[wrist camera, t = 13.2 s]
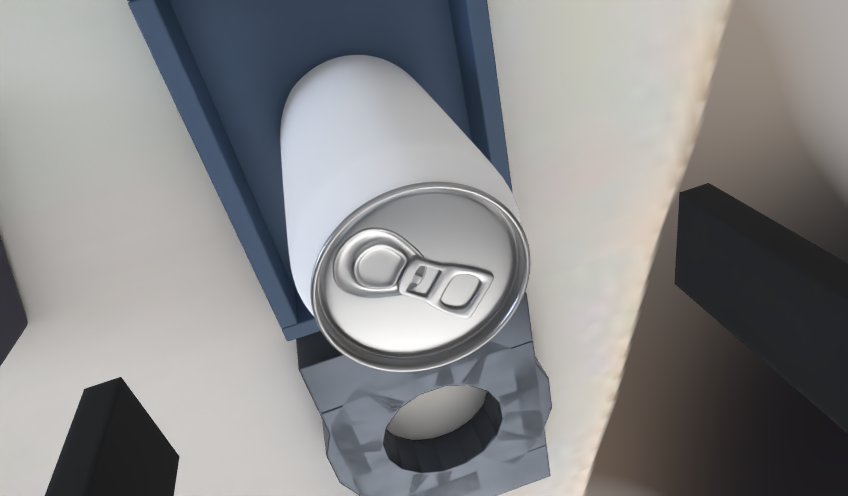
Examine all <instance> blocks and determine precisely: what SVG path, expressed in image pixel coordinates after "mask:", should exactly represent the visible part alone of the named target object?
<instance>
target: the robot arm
mask: <svg viewBox="0 0 848 496" xmlns="http://www.w3.org/2000/svg"><path fill="white" fill-rule="evenodd" d="M675 284H676V285H677V286H678V287H679V288H680V289H681V290H683V291H684V292H685V293H686V294H687V295H689V297H691V298H692V299H693V300H694V301H695V302H696V303H698V304H699V305H700V306H701V307H702V308H703V309H704V310H706V311H707V312H708V313H709V314H710V315H711V316H712V317H714V318H715V319H716V320H717V321H718V322H719V323H721V324H722V325H723V326H724V327H725V328H726V329H727V330H729V331H730V332H731V333H732V334H733V335H734V336H735V337H737V338H738V339H739V340H740V341H741V342H742V343H744V344H745V345H746V346H747V347H748V348H749V349H751V350H752V351H753V352H754V353H755V354H756V355H757V356H759V357H760V358H761V359H762V360H763V361H764V362H765V363H767V364H768V365H769V366H770V367H771V368H772V369H773V370H775V371H776V372H777V373H778V374H779V375H780V376H782V377H783V378H784V379H785V380H786V381H787V382H788V383H790V384H791V385H792V386H793V387H794V388H795V389H797V390H798V391H799V392H800V393H801V394H802V395H803V396H805V397H806V398H807V399H808V400H809V401H810V402H811V403H813V404H814V405H815V406H816V407H817V408H818V409H820V410H821V411H822V412H823V413H824V414H825V415H826V416H828V417H829V418H830V419H831V420H832V421H834V422H835V423H836V424H837V425H838V426H839V427H840V428H842V429H843V430H844V431H845V432H846V433H847V434H848V264H847V263H846V262H844V261H842V260H841V259H839V258H837V257H835V256H834V255H832V254H830V253H829V252H827V251H825V250H823V249H822V248H820V247H818V246H816V245H815V244H813V243H811V242H810V241H808V240H806V239H804V238H803V237H801V236H799V235H797V234H795V233H794V232H792V231H791V230H789V229H787V228H785V227H784V226H782V225H780V224H778V223H777V222H775V221H773V220H771V219H769V218H768V217H766V216H765V215H763V214H761V213H759V212H758V211H756V210H754V209H753V208H751V207H749V206H747V205H746V204H744V203H742V202H741V201H739V200H737V199H735V198H734V197H732V196H730V195H728V194H727V193H725V192H723V191H721V190H720V189H718V188H716V187H715V186H713V185H711V184H709V183H707V184H704V185H701V186H698V187H695V188H692V189H689V190H686V191H683V192H680V196H679V214H678V232H677V250H676V268H675ZM178 462H179V455H178V454H177V453H176V451H175V450H174V448H173V447H172V446H171V444H170V443H169V442H168V440H167V439H166V438H165V436H164V435H163V433H162V432H161V431H160V429H159V428H158V427H157V425H156V424H155V423H154V421H153V420H152V418H151V417H150V416H149V414H148V413H147V412H146V410H145V409H144V408H143V406H142V405H141V403H140V402H139V401H138V399H137V398H136V397H135V395H134V394H133V392H132V391H131V390H130V388H129V387H128V386H127V384H126V383H125V382H124V380H123V379H122V377H119V378H116V379H113V380H110V381H107V382H104V383H101V384H98V385H95V386H92V387H89V388H86V389H84V392H83V394H82V397H81V400H80V402H79V405H78V408H77V410H76V413H75V416H74V419H73V421H72V424H71V427H70V429H69V432H68V435H67V437H66V440H65V443H64V445H63V448H62V451H61V454H60V456H59V459H58V462H57V464H56V467H55V470H54V472H53V475H52V478H51V481H50V483H49V486H48V489H47V491H46V494H45V496H174V489H175V483H176V476H177V469H178Z"/></svg>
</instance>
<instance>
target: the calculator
mask: <svg viewBox="0 0 848 496" xmlns="http://www.w3.org/2000/svg"><path fill="white" fill-rule="evenodd" d="M27 323H28V322H27V318H26V314H25V311H24V308H23V305H22V302H21V299H20V296H19V293H18V290H17V287H16V283H15V280H14V277H13V274H12V271H11V268H10V265H9V262H8V259H7V256H6V252H5V249H4V246H3V243H2V240H1V237H0V366H1V364H2V363H3V361H4V360H5V358H6V357H7V355H8V354H9V352H10V351H11V349H12V348H13V346H14V345H15V343H16V342H17V340H18V339H19V337H20V336H21V334H22V333H23V331H24V329H25V328H26V326H27Z"/></svg>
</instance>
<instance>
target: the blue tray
mask: <svg viewBox="0 0 848 496" xmlns="http://www.w3.org/2000/svg"><path fill="white" fill-rule="evenodd" d="M127 1H129V2H128V5H129V7H130V9H131V11H132V13H133V15H134V17H135V20H136V22H137V24H138V26H139V28H140V30H141V32H142V34H143V37H144V39H145V41H146V43H147V45H148V47H149V49H150V51H151V53H152V56H153V58H154V60H155V62H156V64H157V66H158V68H159V70H160V73H161V75H162V77H163V79H164V81H165V83H166V85H167V87H168V89H169V92H170V94H171V96H172V98H173V100H174V102H175V104H176V106H177V109H178V111H179V113H180V115H181V117H182V119H183V121H184V123H185V125H186V128H187V130H188V132H189V134H190V136H191V138H192V140H193V142H194V145H195V147H196V149H197V151H198V153H199V155H200V157H201V159H202V161H203V164H204V166H205V168H206V170H207V172H208V174H209V176H210V178H211V181H212V183H213V185H214V187H215V189H216V191H217V193H218V195H219V197H220V200H221V202H222V204H223V206H224V208H225V210H226V212H227V214H228V217H229V219H230V221H231V223H232V225H233V227H234V229H235V231H236V233H237V236H238V238H239V240H240V242H241V244H242V246H243V248H244V250H245V253H246V255H247V257H248V259H249V261H250V263H251V265H252V267H253V269H254V272H255V274H256V276H257V278H258V280H259V282H260V284H261V286H262V289H263V291H264V293H265V295H266V297H267V299H268V301H269V303H270V306H271V308H272V310H273V312H274V314H275V316H276V318H277V320H278V322H279V325H280V327H281V328H282V331H283V333H284V335H285V338H286V340H287V341H291V340H294V339H297V338H300V337H303V336H306V335H309V334H312V333H315V332H318V331H321V330H320V329H319V327H318V325H317V323H316V320H315V317H314V316H313V315H312V314H311V312H310V311H309V310H308V308H307V307H306V306H305V304H304V303H303V301H302V299H301V297H300V295H299V293H298V291H297V288H296V285H295V282H294V279H293V275H292V271H291V265H290V258H289V250H288V239H287V228H286V216H285V203H284V190H283V176H282V161H281V145H280V127H281V119H282V114H283V109H284V106H285V103H286V100H287V98H288V96H289V94H290V92H291V90H292V88H293V87H294V86H295V84H296V83H297V82H298V81H299V80H300V79H301V78H302V77H303V76H304V75H305V74H307V73H308V72H309V71H310V70H312V69H313V68H315V67H316V66H318V65H320V64H322V63H324V62H326V61H328V60H331V59H334V58H337V57H341V56H347V55H368V56H373V57H378V58H381V59H384V60H386V61H389V62H391V63H393V64H395V65H396V66H398V67H400V68H401V69H403V70H404V71H405V72H407V73H408V74H409V75H410V76H411V77H412V78H413V79H414V80H415V81H416V82H417V83H418V84H419V85H420V86H421V87H422V88H423V89H424V90H425V91H426V92H427V93H428V94H429V96H430V97H431V98H432V99H433V100H434V101H435V102H436V103H437V104H438V105H439V106H440V107H441V109H442V110H443V111H444V112H445V113H446V114H447V115H448V116H449V117H450V118H451V119H452V120H453V122H454V123H455V124H456V125H457V126H458V127H459V128H460V129H461V130H462V131H463V133H464V134H465V135H466V136H467V137H468V138H469V139H470V140H471V141H472V142H473V144H474V145H475V146H476V147H477V148H478V149H479V150H480V151H481V152H482V154H483V155H484V156H485V157H486V158H487V159H488V160H489V161H490V163H491V164H492V165H493V166H494V167H495V169H496V170H497V171H498V172H499V174H500V175H501V176H502V177H503V179H504V180H505V182H506V183H507V185H508V187H509V188H510V190H511V192H512V186H511V178H510V171H509V163H508V156H507V148H506V141H505V133H504V125H503V118H502V110H501V103H500V95H499V87H498V80H497V72H496V65H495V57H494V50H493V42H492V34H491V27H490V19H489V12H488V4H487V0H127Z"/></svg>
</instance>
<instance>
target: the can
mask: <svg viewBox="0 0 848 496" xmlns="http://www.w3.org/2000/svg"><path fill="white" fill-rule="evenodd" d="M280 145H281V161H282V176H283V190H284V203H285V216H286V228H287V239H288V250H289V258H290V265H291V271H292V275H293V279H294V282H295V285H296V288H297V291H298V293H299V295H300V297H301V299H302V301H303V303H304V304H305V306H306V307H307V308H308V310H309V311H310V312H311V314H312V315H313V316H314V317H315V320H316V323H317V325H318V327H319V329H320V330H321V332H322V334H323V335H324V336H325V338H326V339H327V340H328V342H329V343H330V344H331V345H332V346H333V347H334V348H335V349H337V350H338V351H339V352H340V353H342V354H343V355H344V356H346V357H348V358H349V359H351V360H353V361H355V362H357V363H359V364H361V365H364V366H367V367H370V368H374V369H378V370H383V371H391V372H415V371H423V370H428V369H433V368H437V367H440V366H444V365H447V364H449V363H452V362H454V361H457V360H459V359H461V358H463V357H465V356H467V355H469V354H471V353H472V352H474V351H476V350H477V349H479V348H480V347H482V346H483V345H484V344H486V343H487V342H488V341H489V340H491V339H492V338H493V337H494V336H495V335H496V334H497V333H498V332H499V331H500V330H501V329H502V328H503V327H504V326H505V325H506V323H507V322H508V321H509V320H510V318H511V317H512V315H513V314H514V312H515V311H516V309H517V308H518V306H519V304H520V302H521V300H522V298H523V295H524V293H525V290H526V287H527V283H528V279H529V273H530V251H529V245H528V241H527V238H526V235H525V233H524V230H523V228H522V226H521V219H520V214H519V209H518V206H517V203H516V200H515V198H514V196H513V194H512V192H511V190H510V188H509V187H508V185H507V183H506V182H505V180H504V179H503V177H502V176H501V175H500V174H499V172H498V171H497V170H496V169H495V167H494V166H493V165H492V164H491V163H490V161H489V160H488V159H487V158H486V157H485V156H484V155H483V154H482V152H481V151H480V150H479V149H478V148H477V147H476V146H475V145H474V144H473V142H472V141H471V140H470V139H469V138H468V137H467V136H466V135H465V134H464V133H463V131H462V130H461V129H460V128H459V127H458V126H457V125H456V124H455V123H454V122H453V120H452V119H451V118H450V117H449V116H448V115H447V114H446V113H445V112H444V111H443V110H442V109H441V107H440V106H439V105H438V104H437V103H436V102H435V101H434V100H433V99H432V98H431V97H430V96H429V94H428V93H427V92H426V91H425V90H424V89H423V88H422V87H421V86H420V85H419V84H418V83H417V82H416V81H415V80H414V79H413V78H412V77H411V76H410V75H409V74H408V73H407V72H405V71H404V70H403V69H401V68H400V67H398V66H396V65H395V64H393V63H391V62H389V61H386V60H384V59H381V58H378V57H373V56H368V55H347V56H341V57H337V58H334V59H331V60H328V61H326V62H324V63H322V64H320V65H318V66H316V67H315V68H313V69H312V70H310V71H309V72H308V73H307V74H305V75H304V76H303V77H302V78H301V79H300V80H299V81H298V82H297V83H296V84H295V86H294V87H293V88H292V90H291V92H290V94H289V96H288V98H287V100H286V103H285V106H284V109H283V114H282V119H281V127H280Z"/></svg>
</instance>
